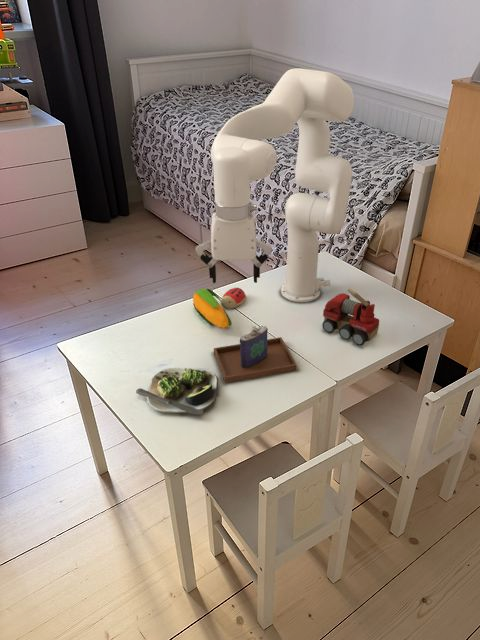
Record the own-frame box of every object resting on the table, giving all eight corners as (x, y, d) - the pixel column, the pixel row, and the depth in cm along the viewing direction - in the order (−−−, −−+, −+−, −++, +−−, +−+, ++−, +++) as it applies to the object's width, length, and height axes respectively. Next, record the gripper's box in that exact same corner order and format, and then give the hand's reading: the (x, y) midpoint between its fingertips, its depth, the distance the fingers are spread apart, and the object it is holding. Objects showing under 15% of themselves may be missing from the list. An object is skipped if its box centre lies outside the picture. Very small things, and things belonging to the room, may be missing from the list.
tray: (281, 342, 151) (281, 337, 150) (296, 370, 142) (296, 364, 141) (213, 353, 146) (213, 348, 145) (225, 383, 137) (224, 377, 136)
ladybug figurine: (216, 306, 164) (215, 296, 162) (231, 292, 171) (231, 282, 169) (235, 312, 163) (235, 302, 160) (250, 297, 170) (250, 287, 167)
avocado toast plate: (130, 419, 125) (127, 404, 123) (144, 371, 139) (142, 357, 136) (213, 420, 126) (212, 405, 123) (219, 372, 140) (218, 358, 137)
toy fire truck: (335, 317, 162) (340, 263, 151) (380, 336, 155) (389, 281, 144) (313, 333, 155) (317, 278, 144) (359, 354, 148) (368, 298, 137)
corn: (208, 278, 162) (239, 310, 149) (211, 300, 167) (241, 332, 154) (185, 286, 159) (214, 318, 146) (189, 307, 164) (218, 341, 151)
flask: (262, 351, 147) (263, 318, 140) (270, 355, 146) (271, 322, 139) (238, 366, 142) (237, 332, 135) (246, 371, 140) (245, 337, 133)
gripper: (271, 203, 120) (270, 272, 131) (193, 203, 119) (198, 273, 130) (273, 216, 115) (272, 287, 125) (191, 216, 113) (197, 288, 124)
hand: (234, 280), depth 128 cm, fingers open, 9 cm apart
